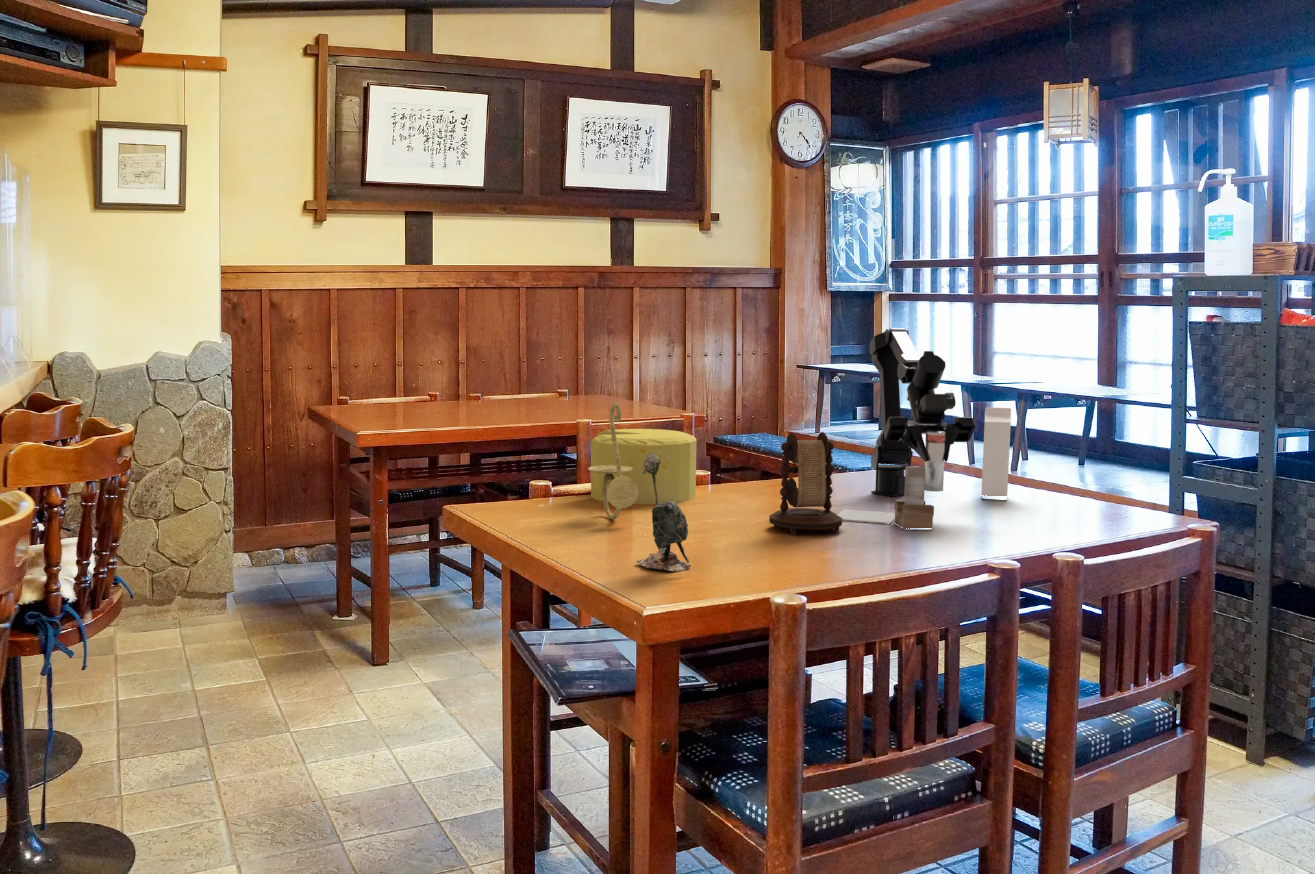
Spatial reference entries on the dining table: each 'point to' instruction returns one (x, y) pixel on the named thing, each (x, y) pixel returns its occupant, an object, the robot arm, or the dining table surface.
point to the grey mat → (866, 516)
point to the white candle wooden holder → (914, 501)
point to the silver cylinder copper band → (935, 460)
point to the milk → (996, 451)
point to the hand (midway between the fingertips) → (936, 460)
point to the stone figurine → (665, 528)
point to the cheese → (634, 448)
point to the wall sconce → (622, 487)
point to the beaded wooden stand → (806, 485)
